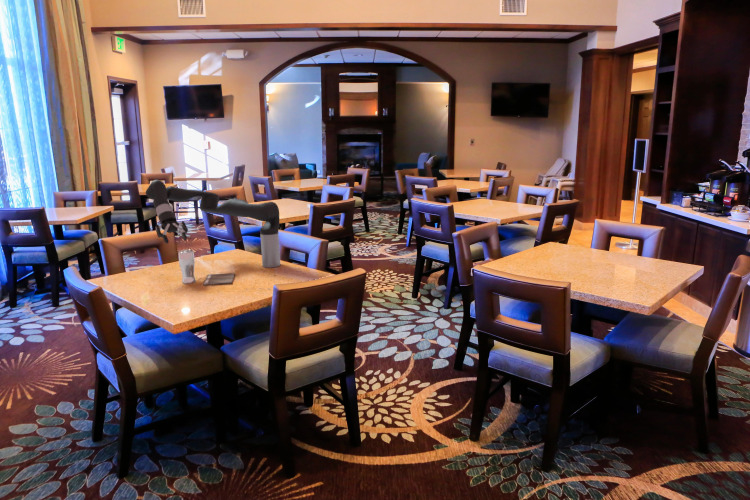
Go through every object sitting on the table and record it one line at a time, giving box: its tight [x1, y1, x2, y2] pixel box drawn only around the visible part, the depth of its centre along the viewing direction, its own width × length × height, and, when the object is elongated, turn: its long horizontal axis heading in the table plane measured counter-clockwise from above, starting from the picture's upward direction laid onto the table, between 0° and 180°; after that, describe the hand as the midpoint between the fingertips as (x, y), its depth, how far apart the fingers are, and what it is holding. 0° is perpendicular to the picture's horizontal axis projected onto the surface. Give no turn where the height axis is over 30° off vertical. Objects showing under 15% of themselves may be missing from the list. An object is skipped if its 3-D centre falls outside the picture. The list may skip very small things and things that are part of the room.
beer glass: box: [178, 249, 197, 285], centre depth 255 cm, size 7×7×15 cm
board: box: [202, 272, 236, 287], centre depth 259 cm, size 17×13×1 cm
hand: (176, 241), depth 261 cm, fingers open, 8 cm apart
